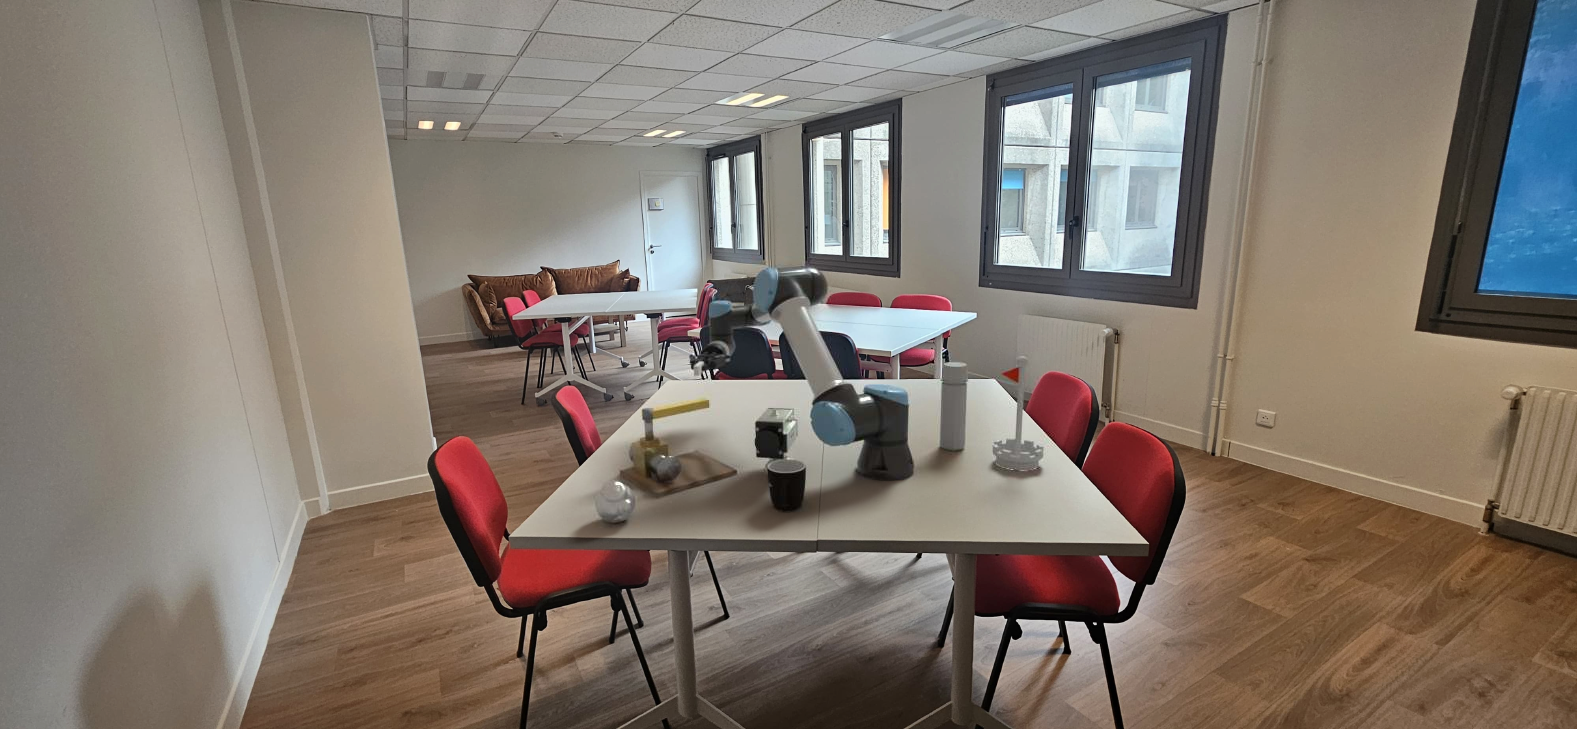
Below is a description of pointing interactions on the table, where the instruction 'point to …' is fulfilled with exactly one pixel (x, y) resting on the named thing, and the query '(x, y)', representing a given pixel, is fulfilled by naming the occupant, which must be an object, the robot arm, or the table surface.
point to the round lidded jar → (615, 502)
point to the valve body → (653, 457)
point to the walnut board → (683, 474)
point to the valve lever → (674, 409)
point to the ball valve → (775, 434)
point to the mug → (787, 484)
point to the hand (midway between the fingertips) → (696, 371)
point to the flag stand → (1018, 432)
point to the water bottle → (953, 406)
